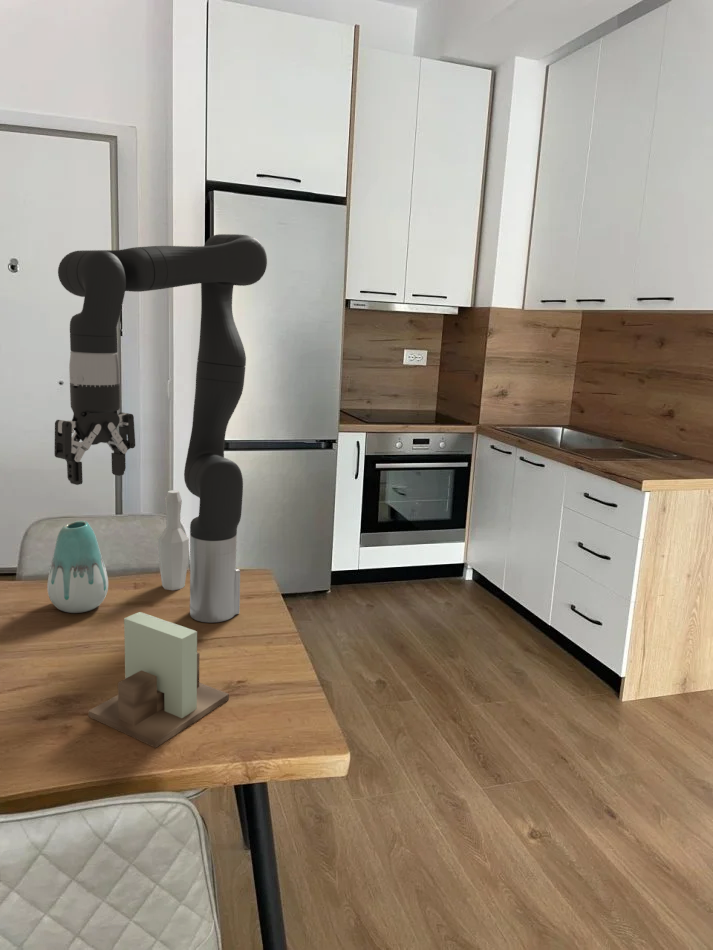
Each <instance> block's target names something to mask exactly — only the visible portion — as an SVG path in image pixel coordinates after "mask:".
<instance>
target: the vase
mask: <svg viewBox="0 0 713 950" xmlns="http://www.w3.org/2000/svg"><path fill="white" fill-rule="evenodd" d="M55 541H56V542H55V546H54V551H53V555H52V559H51V562H50V563H51V564H50V567H49V572H48V579H47V587H46V588H47V595H48V597H49V599H50V601H51V603H52V604H53V606H54V607H55V608H57V609H58V610H60V611H62V612H64V613H69V614H70V613H71V614H81V613H85V612H90V611H92V610H94V609H96V608H98V607H99V606H100V605H101V604H102V603H103V602H104V600H105V598H106V596H107V594H108V590H109V577H108V572H107V569H106V565H105V561H104V559H103V556H102V553H101V549H100V546H99V542H98V538H97V536H96V533H95V531H94V529H93V528H92V526H91V525H90V523H89V522H88V521H87V520H75V521H72V522H69V523H66V524H65V525H63V526H62V527H61V528H60V531H59V532H58V535H57V538H56V540H55Z"/></svg>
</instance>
